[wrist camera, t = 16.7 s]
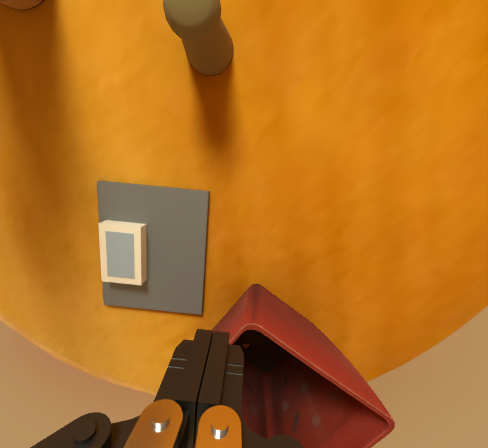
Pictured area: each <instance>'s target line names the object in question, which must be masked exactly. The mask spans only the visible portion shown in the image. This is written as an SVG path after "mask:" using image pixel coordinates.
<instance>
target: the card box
mask: <svg viewBox="0 0 488 448" xmlns="http://www.w3.org/2000/svg"><path fill="white" fill-rule="evenodd" d="M98 225H99V243H100V261H101V278H102V281H104V282H114V283H123V284H133V285H142V284H143V283H144V282H145V281H146V279H147V241H146V224H142V223H131V222H121V221H111V220H105V221H103V222H100V223H98Z"/></svg>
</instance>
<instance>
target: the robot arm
mask: <svg viewBox="0 0 488 448" xmlns="http://www.w3.org/2000/svg"><path fill="white" fill-rule="evenodd" d="M41 1H42V0H0V2H1V3H3V4H4V5H6V6H9V7H11V8H15V9H19V10H20V9H29V8H32V7H35V6H36V5H38V4H39V3H40V2H41ZM229 336H230V332H223V331H214V334H213V330H204V329H197V331H196V334H195V337H194V340H193V341H192V340H183V341H182V342H181V343H180V344H179V345H178V346H177V347H176V349H175V351H174V353H173V356H172V359H171V361H170V363H169V366H168V368H167V370H166V373H165V375H164V378H163V380H162V383H161V385H160V388H159V390H158V392H157V395H156V398H155V400H154V402H153V403H151V404H150V405H148V406H147V407H146V408H145V409H144V411H143V412H142V413H141V415H139V416H138V417H136V418H133V419H130V420H126V421H121V422H117V423H112V424H111V422H110V419H109V418H108V417H107V416H106V415H105V414H102V413H98V412H97V413H89V414H86V415H83V416H81V417H79V418H77V419H75V420H74V421H72V422H71V423H69V424H68V425H66V426H64V427H63V428H61V429H60V430H58V431H56V432H55V433H53V434H52V435H50V436H48V437H47V438H46V439H44V440H42V441H40V442H39V443H37V444H36V445H34V446H32V447H31V448H194V445H195V448H304V447H303V446H302V445H301V444H300V443H299V442H298V441H297V440H296V439H294V438H293V437H291V436H288V435H283V434H279V435H275V436H273V437H271V438H270V439H269V440H268V439H266V438H264V437H261V436H259V435H257V434H256V433H254V432H253V431H252V430H250V429H249V428H248V426H247V425H246V424H245V422H244V420H243V417H242V413H241V404H242V385H243V365H244V354H243V351H242V349H241V347H240V346H239V345H230V344H229Z"/></svg>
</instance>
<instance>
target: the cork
mask: <svg viewBox="0 0 488 448" xmlns="http://www.w3.org/2000/svg"><path fill="white" fill-rule="evenodd" d="M163 7H164V12H165V16H166V20H167V21H168V23H169V25H170V27H171V29H172V30H173V31H174V32H175V33H176V34H177V35H178V36H179V37H180V38H181V39H182V42H183V45H184V48H185V51H186V55H187V58H188V60H189V62H190V64H191V66H192V67H193V68H194V69H195V70H196V71H197V72H199V73H201V74H203V75H209V76H212V75H217V74H219V73H221V72H222V71H224V70H225V69H226V68H227V66H228V65H229V64H230V61H231V59H232V56H233V43H232V39H231V37H230V35H229V33H228V31H227V29H226V27H225V25H224V23H223V21H222V19H221V18H220V17H221V5H220V0H163Z"/></svg>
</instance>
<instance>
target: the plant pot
mask: <svg viewBox="0 0 488 448" xmlns="http://www.w3.org/2000/svg"><path fill="white" fill-rule="evenodd" d="M256 330H257V331H260V332H261V333H263V335H259V334H258V333H257V332H256ZM214 331H223V332H230V336H229V344H230V345H239V346H240V347H241V349H242V351H243V354H244V365H243V385H242V404H241V413H242V417H243V420H244V422H245V424H246V425H247V426H248V428H249V429H250V430H252V431H253V432H254V433H256V434H257V435H259V436H261V437H264V438H266V439H268V440H269V439H270V438H271V437H273V436H275V435H279V434H283V435H288V436H291V437H293V438H294V439H296V440H297V441H298V442H299V443H300V444H301V445H302V446H303V447H304V448H371V447H372V446H374V445H375V444H376V443H377V442H379V441H380V440H381V439H383V438H384V437H385V436H387V435H388V434H389V433H390V432H391V431H392V430H393V429H394V426H395V422H394V420H393V419H392V417H391V416H390V414H389V413H388V411H387V410H386V408H385V407H384V405H383V404H382V402H381V401H380V400H379V398H378V397H377V396H376V394H375V393H374V391H373V390H372V389H371V387H370V386H369V385H368V384H367V382H366V381H365V380H364V378H363V377H362V376H361V375H360V373H359V372H358V371H357V370H356V369H355V367H354V366H353V365H352V364H351V363H350V361H349V360H348V359H347V358H346V357H345V356H344V355H343V354H342V352H341V351H340V350H339V349H338V348H337V347H336V346H335V345H334V344H333V343H332V342H331V341H330V340H329V339H328V338H327V337H326V336H325V335H324V334H323V333H322V332H321V331H320V330H319V329H318V328H317V327H316V326H315V325H314V324H313V323H311V322H310V321H309V320H308V319H306V318H305V317H303V316H302V315H301V314H299V313H298V312H297V311H295V310H294V309H292V308H291V307H290V306H288V305H287V304H286V303H284V302H283V301H282V300H280V299H279V298H278V297H276V296H275V295H273V294H272V293H271V292H269V291H268V290H267V289H265V288H264V287H262V286H261V285H259V284H253V285H251V286H250V287H249V288H248V290H247V291H246V292H245V293H244V294H243V295H242V297H241V298H240V299H239V300H238V301H237V302H236V303H235V305H234V306H233V307H232V308H231V309H230V310H229V311H228V313H227V314H226V315H225V316H224V317H223V318H222V319H221V321H220V322H219V323H218V324H217V325H216V326H215V327H214V329H213V334H214ZM245 343H248V344H249V345H250V349H248V350H245V349H243V344H245ZM276 343H277V344H278V345H279V346H281V347H277V346H276ZM194 448H195V445H194Z"/></svg>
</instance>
